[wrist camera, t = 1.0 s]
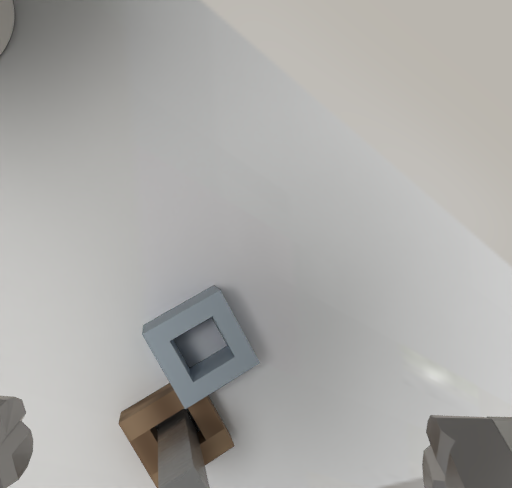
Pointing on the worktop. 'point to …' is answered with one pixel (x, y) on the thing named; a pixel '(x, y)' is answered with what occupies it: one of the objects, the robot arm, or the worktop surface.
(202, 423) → the socket block
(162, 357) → the block
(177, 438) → the tall brushed metal pillar
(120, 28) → the worktop surface
